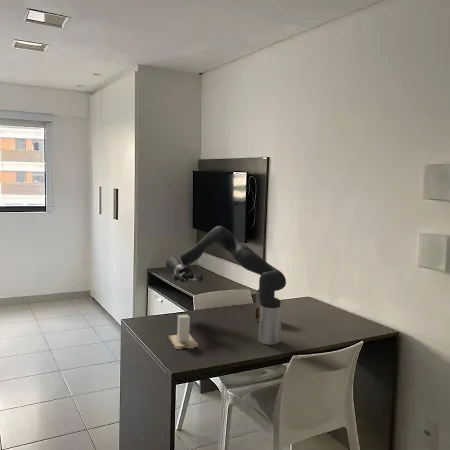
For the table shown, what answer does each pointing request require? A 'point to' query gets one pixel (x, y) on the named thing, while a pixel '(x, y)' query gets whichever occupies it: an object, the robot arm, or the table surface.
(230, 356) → the table surface
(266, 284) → the robot arm
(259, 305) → the coffee box
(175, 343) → the pin dock
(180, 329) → the block
